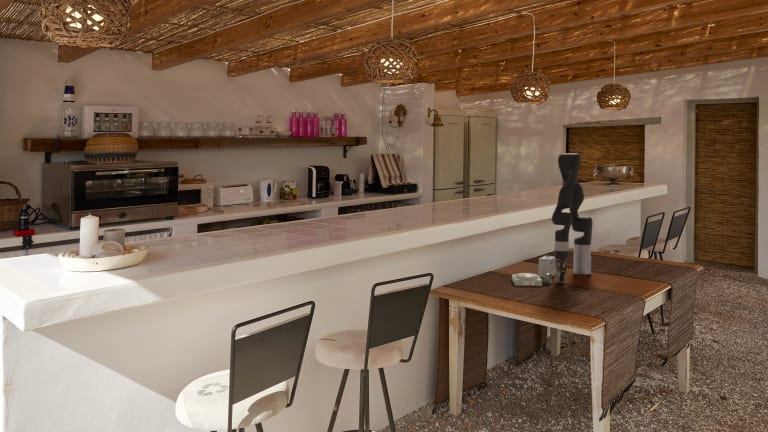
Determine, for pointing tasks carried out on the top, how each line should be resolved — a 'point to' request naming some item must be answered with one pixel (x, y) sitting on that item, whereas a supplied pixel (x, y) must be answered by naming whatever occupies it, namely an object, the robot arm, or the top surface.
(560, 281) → the spacer
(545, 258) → the light bulb box
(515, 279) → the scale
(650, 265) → the top surface
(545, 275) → the spacer
